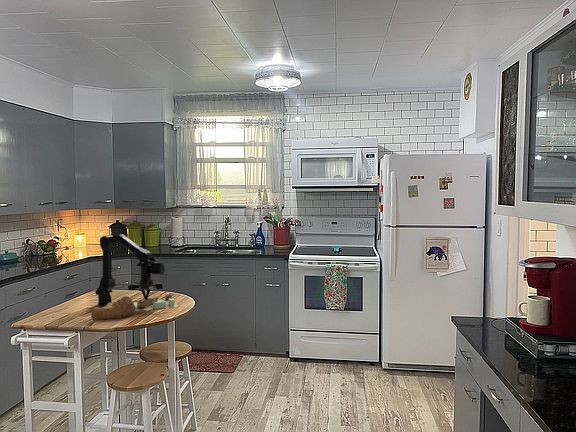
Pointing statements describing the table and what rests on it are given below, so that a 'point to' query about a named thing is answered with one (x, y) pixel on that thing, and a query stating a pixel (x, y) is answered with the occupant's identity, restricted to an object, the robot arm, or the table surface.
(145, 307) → the board
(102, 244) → the robot arm
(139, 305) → the hinged leg
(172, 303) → the socket blocks
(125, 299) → the tan rounded lump
